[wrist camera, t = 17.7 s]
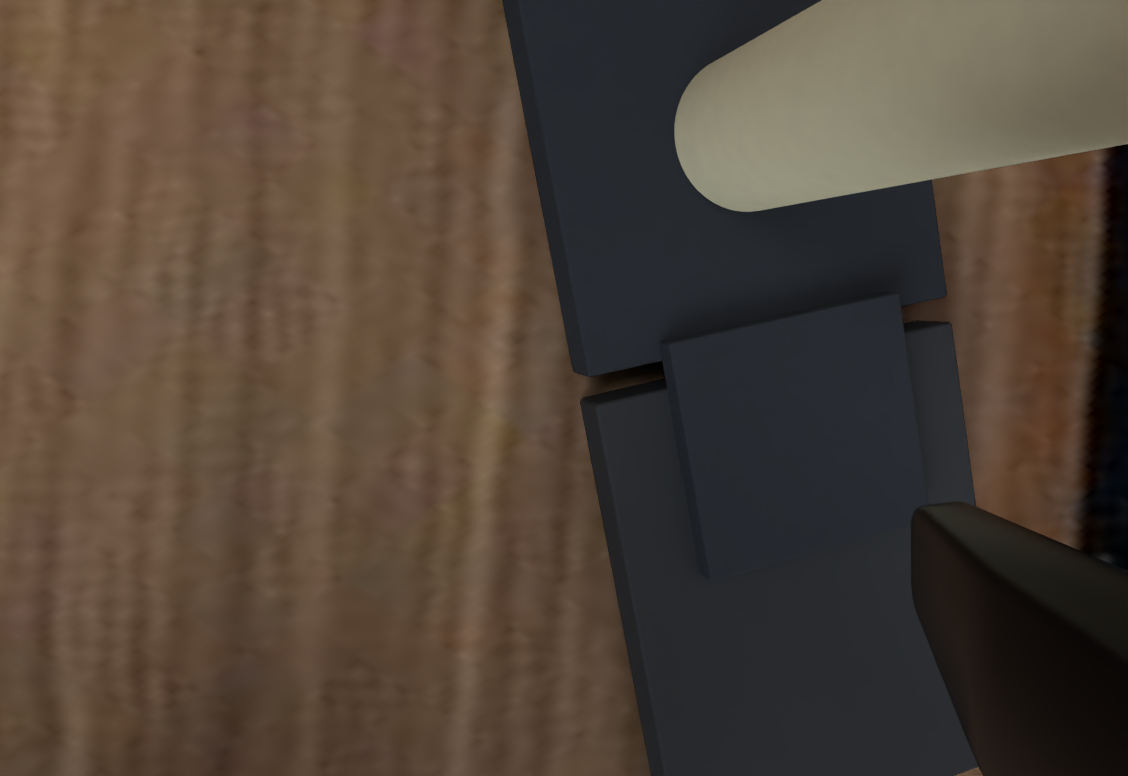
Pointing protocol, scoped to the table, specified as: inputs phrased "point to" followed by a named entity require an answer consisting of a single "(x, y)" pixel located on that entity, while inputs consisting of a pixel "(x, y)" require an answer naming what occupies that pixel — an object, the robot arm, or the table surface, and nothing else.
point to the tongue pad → (787, 220)
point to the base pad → (778, 611)
